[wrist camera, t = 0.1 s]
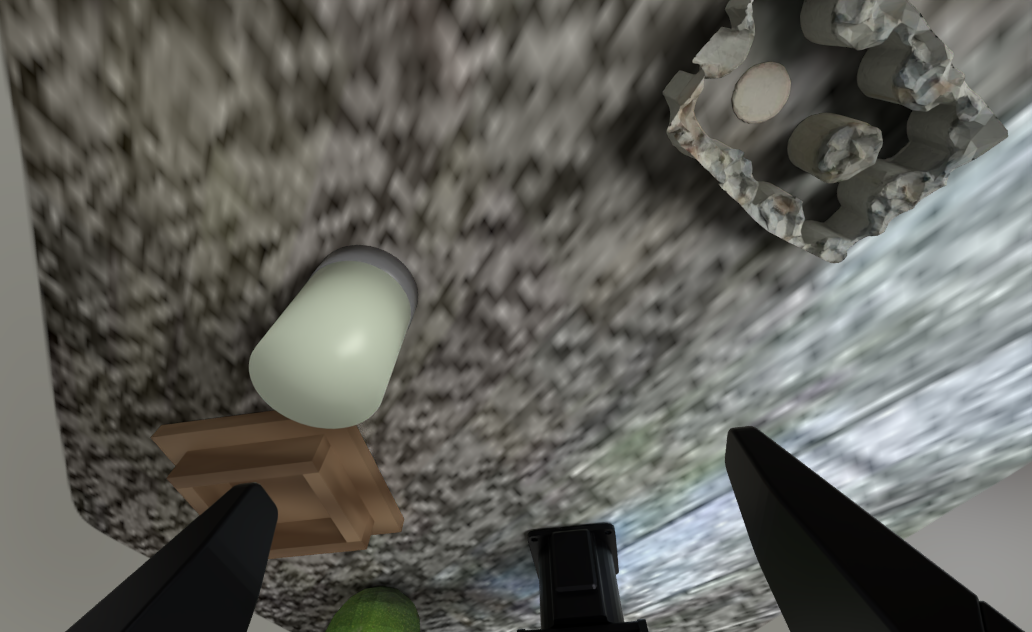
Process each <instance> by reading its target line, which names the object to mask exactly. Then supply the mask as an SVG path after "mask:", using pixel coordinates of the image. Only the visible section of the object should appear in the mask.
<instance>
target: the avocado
mask: <svg viewBox="0 0 1032 632" xmlns="http://www.w3.org/2000/svg"><path fill="white" fill-rule="evenodd" d="M325 632H420V619H419V615H418V612H417V610H416V607H415V605H414V603H413V602H412V601H411V600H410V599H409V598H408V597H407V596H405V595H404V594H403V593H402V592H400V591H399V590H398V589H394V588H388V587H383V586H380V587H374V588H367V589H364V590H362V591H360V592H359V593H357V594H355V595H353V596H352V597H351V598H350V599H349V600H348V601H347V602H346V603H344V605H343V606H342V607H341V608H340V609H339V610H338V611H337V613H336V614H335V615H334V617H333V619H332V620H331V622H330V624H329V626H328V628H327V630H326V631H325Z"/></svg>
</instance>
